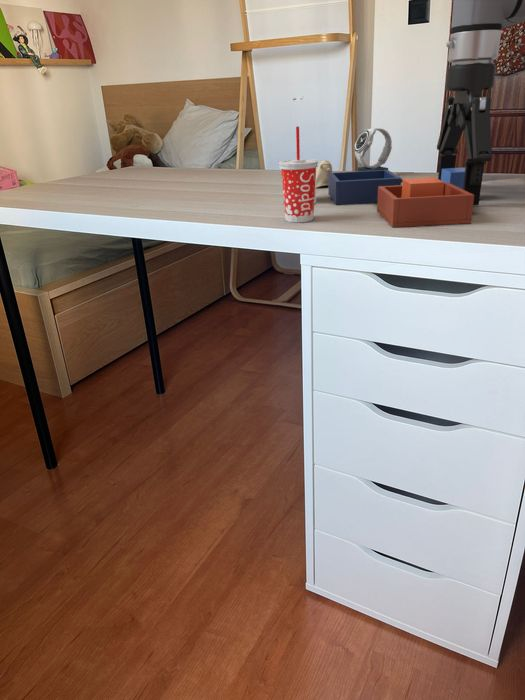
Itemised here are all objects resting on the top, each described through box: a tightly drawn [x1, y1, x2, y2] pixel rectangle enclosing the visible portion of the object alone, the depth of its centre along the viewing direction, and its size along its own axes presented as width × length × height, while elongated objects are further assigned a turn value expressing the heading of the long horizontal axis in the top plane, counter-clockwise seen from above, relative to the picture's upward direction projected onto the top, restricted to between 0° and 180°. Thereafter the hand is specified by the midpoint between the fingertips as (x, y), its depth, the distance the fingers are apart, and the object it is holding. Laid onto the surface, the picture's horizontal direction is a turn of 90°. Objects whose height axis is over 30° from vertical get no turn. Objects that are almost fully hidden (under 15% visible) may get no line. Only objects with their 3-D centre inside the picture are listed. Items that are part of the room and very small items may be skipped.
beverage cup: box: [278, 126, 319, 223], centre depth 83 cm, size 6×6×14 cm
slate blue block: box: [441, 167, 465, 189], centre depth 93 cm, size 5×5×5 cm
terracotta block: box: [401, 176, 444, 198], centre depth 82 cm, size 5×5×5 cm
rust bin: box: [376, 183, 474, 228], centre depth 82 cm, size 12×12×4 cm
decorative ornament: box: [316, 159, 333, 189], centre depth 113 cm, size 4×8×5 cm, turn 175°
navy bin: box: [327, 169, 402, 206], centre depth 99 cm, size 12×12×4 cm
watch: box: [353, 127, 393, 171], centre depth 113 cm, size 6×8×11 cm
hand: (456, 198), depth 94 cm, fingers open, 13 cm apart
